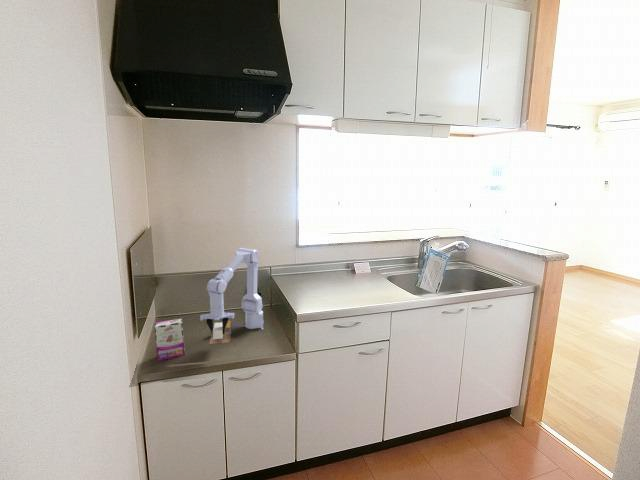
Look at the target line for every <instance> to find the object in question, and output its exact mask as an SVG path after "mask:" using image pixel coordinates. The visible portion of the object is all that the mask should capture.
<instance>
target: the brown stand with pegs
mask: <svg viewBox="0 0 640 480" xmlns="http://www.w3.org/2000/svg"><path fill="white" fill-rule="evenodd" d="M231 330H232V329H231V328H227V331H224V334H223V338H221V339H213V335H212V333H211V332H210V340H209V345H212V344H213V345H214V344H227V343H231V341H232V339H231V338H232V331H231Z"/></svg>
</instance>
